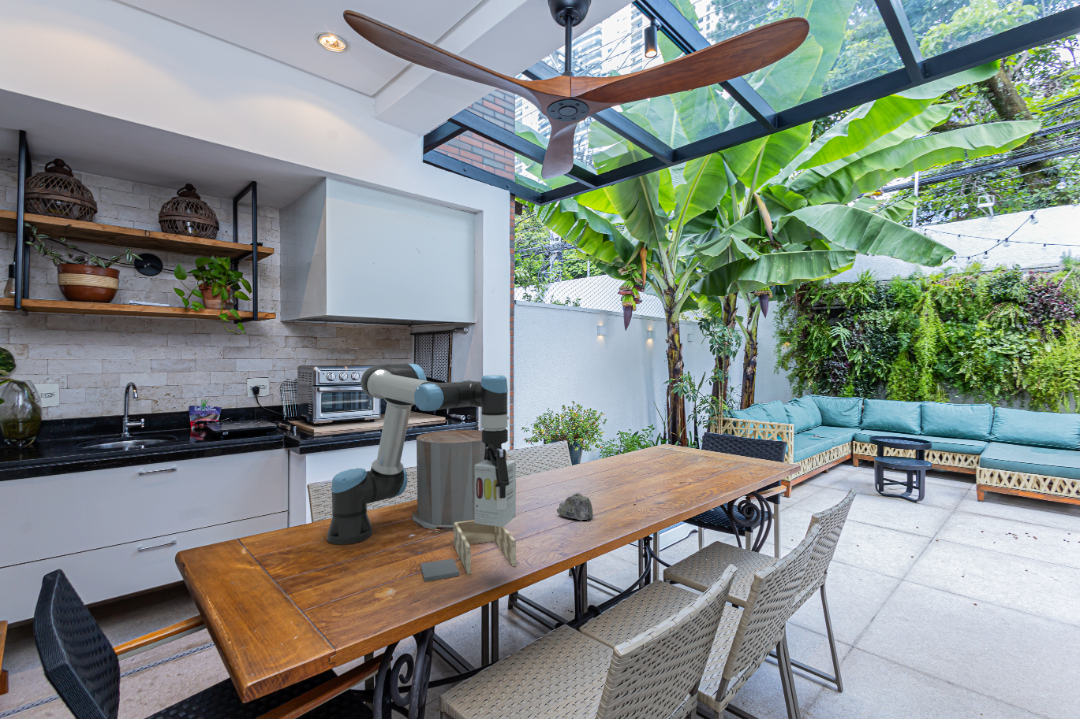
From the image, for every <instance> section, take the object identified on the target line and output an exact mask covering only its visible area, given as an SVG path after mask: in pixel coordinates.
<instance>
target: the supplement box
mask: <svg viewBox="0 0 1080 719" xmlns="http://www.w3.org/2000/svg"><path fill="white" fill-rule="evenodd" d="M506 463H507V471H508V479H509V485H507V509H502V510H497V498H496V487H495V485H496V484H497V479H496V470H495V466H494V465H493V464H492V461H491V460H489V461H488V460H487V459H486V460H484V461H482V462H480V463H478V464H476V465H475V522H474V523H477V524H485V525H492V526H499V527H505V526H507V525H508V524H510V522H511V521H513V520H514V519H515V518H516V517H517V493H516V492H517V473H516V472H517V471H516V470H517V462H516V460H507V459H506Z"/></svg>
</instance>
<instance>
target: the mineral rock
mask: <svg viewBox="0 0 1080 719" xmlns="http://www.w3.org/2000/svg"><path fill="white" fill-rule="evenodd" d="M558 506H559V507H558V508H557V509H556V513H557V514H559V515H560V516H562V517H565V518H569V519H575V520H579V521H582V520H588V521H589V519H591V518H592V519H593V516H594V512H593V511H594V510H593V505H592V502H591V500H590V498H589V497H588V496H584V495H582V494H581V493H579V492H577V493H574V494H572V495H571V496H568V497H567V498H566V499H565V500H564V501H563V502H561V503H559V505H558ZM592 519H591V520H592Z"/></svg>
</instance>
